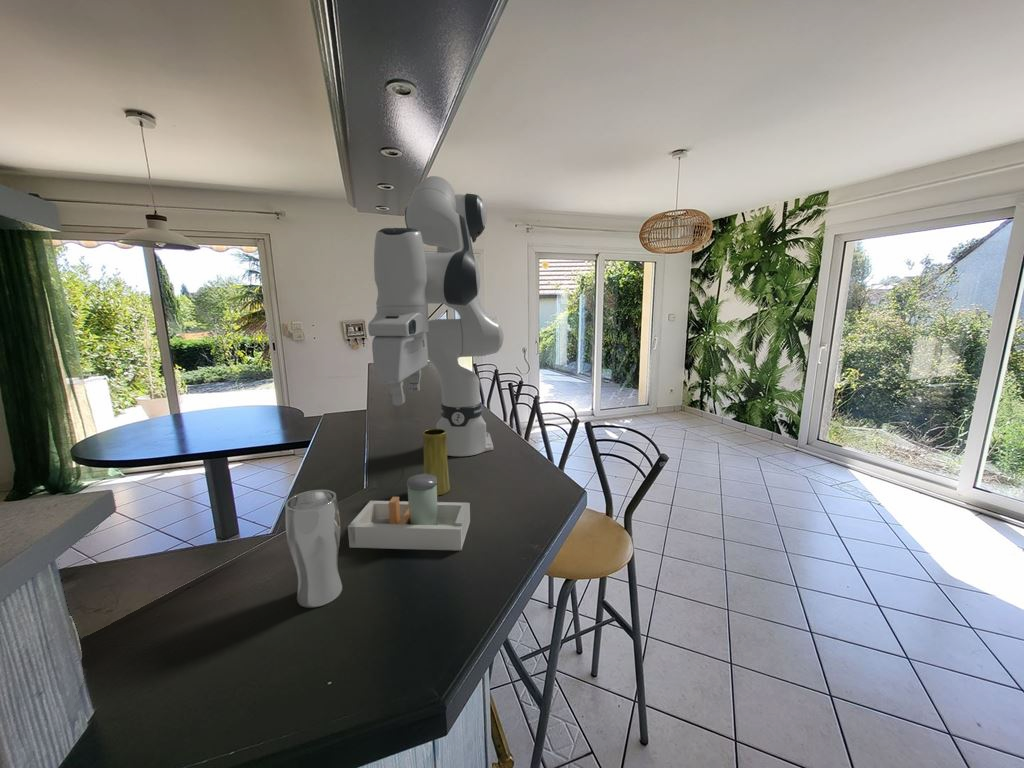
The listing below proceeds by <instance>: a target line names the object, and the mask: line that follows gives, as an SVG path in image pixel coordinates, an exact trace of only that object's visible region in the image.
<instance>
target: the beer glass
mask: <svg viewBox="0 0 1024 768" xmlns="http://www.w3.org/2000/svg"><path fill="white" fill-rule="evenodd" d="M284 503H285V505H284V507H285V533H286V540H287V545H288V548H289V549H288V550H289V551H290V555H291V559H292V561H293V563H294V567H295V570H296V574H297V592H296V593H297V594H296V600H297V601H296V602H297V604H299V606H301V607H303V608H307V609H308V608H309V609H312V608H313V609H314V608H318V607H319V608H320V607H322V606H326V605H328V604H330V603H331V602H333V601H334V600H336V599H337V598H338V597H339V596H340V595H341V593H342V591H343V584H342V580H341V577H340V573H339V568H338V561H339V559H338V558H339V549H340V541H341V520H340V519H341V517H340V512H339V505H338V500H337V493H336V492H334V491H332V490H329V489H314V490H307V491H304V492H301V493H297V494H295V495H293V496H291V497H289V499H288V500H286V502H284Z"/></svg>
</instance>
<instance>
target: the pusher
mask: <svg viewBox="0 0 1024 768" xmlns="http://www.w3.org/2000/svg"><path fill="white" fill-rule="evenodd" d="M388 501H389V519H384V518H374V519H373V524H405V525H410V523H409V508H408V510H407V511H406V513H405V514H404V516H403V518H402V519H401V520H400V502H399V501H400V496H392V497H391V499H389V500H388Z"/></svg>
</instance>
